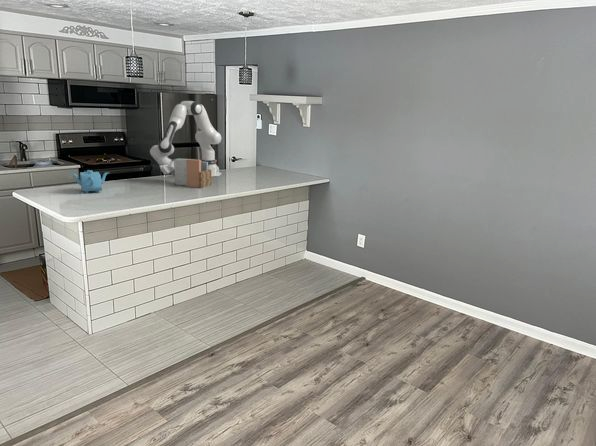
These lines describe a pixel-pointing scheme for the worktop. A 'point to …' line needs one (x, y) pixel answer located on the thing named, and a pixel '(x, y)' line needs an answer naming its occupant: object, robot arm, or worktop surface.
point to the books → (195, 171)
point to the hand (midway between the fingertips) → (176, 176)
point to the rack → (205, 178)
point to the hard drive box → (180, 171)
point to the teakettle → (90, 181)
